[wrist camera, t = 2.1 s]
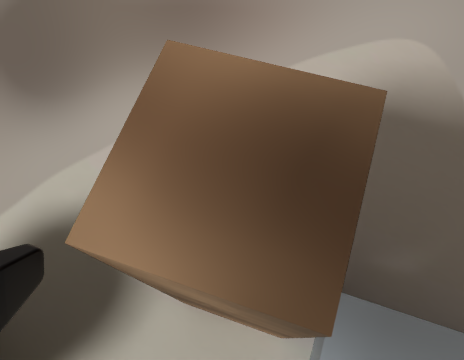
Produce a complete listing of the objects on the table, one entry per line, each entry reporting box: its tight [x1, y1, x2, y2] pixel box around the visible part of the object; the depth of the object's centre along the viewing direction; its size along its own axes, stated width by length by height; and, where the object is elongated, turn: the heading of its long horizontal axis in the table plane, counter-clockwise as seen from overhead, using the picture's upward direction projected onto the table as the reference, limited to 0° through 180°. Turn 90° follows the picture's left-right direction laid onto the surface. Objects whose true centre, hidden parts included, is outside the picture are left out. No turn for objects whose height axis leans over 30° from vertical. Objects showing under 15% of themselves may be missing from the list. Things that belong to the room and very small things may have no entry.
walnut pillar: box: [65, 40, 387, 338], centre depth 14 cm, size 5×5×13 cm
